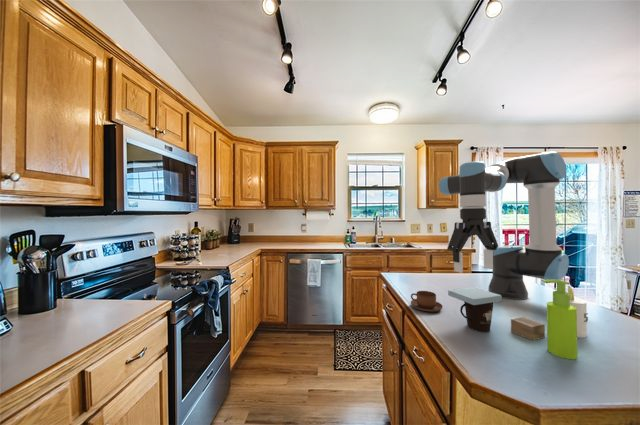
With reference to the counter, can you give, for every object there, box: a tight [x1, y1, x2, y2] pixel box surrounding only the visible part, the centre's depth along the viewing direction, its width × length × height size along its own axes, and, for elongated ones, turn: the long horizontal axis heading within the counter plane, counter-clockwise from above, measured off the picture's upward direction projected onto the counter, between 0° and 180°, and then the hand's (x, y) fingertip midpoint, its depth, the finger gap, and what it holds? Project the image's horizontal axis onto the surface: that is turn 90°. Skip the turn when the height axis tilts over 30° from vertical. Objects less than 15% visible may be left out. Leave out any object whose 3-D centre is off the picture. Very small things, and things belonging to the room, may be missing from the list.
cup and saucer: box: [410, 290, 443, 313], centre depth 101 cm, size 12×12×6 cm
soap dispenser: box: [541, 279, 578, 360], centre depth 68 cm, size 6×7×20 cm
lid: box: [447, 286, 502, 305], centre depth 83 cm, size 12×10×2 cm
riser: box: [510, 316, 546, 341], centre depth 78 cm, size 6×6×4 cm
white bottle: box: [567, 285, 589, 338], centre depth 79 cm, size 6×6×15 cm
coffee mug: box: [459, 301, 495, 333], centre depth 83 cm, size 12×9×10 cm
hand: (473, 270), depth 83 cm, fingers open, 13 cm apart
